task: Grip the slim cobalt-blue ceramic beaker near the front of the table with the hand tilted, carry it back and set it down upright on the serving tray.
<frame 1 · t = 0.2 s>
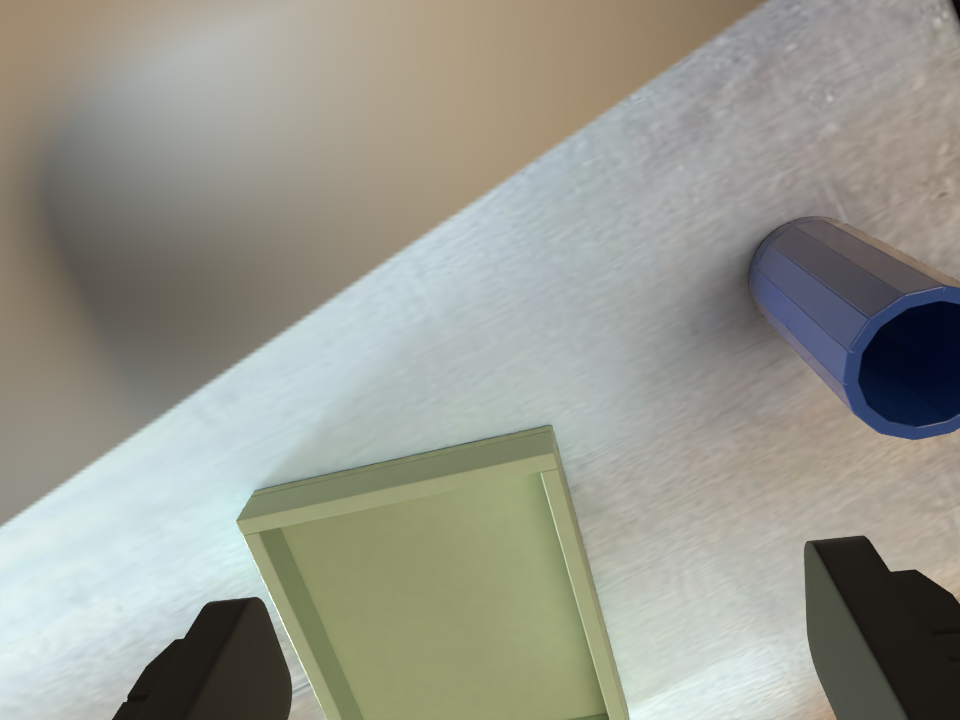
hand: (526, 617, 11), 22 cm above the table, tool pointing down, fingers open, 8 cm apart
beaker: (806, 273, 31), on the table
serving tray: (451, 606, 38), on the table
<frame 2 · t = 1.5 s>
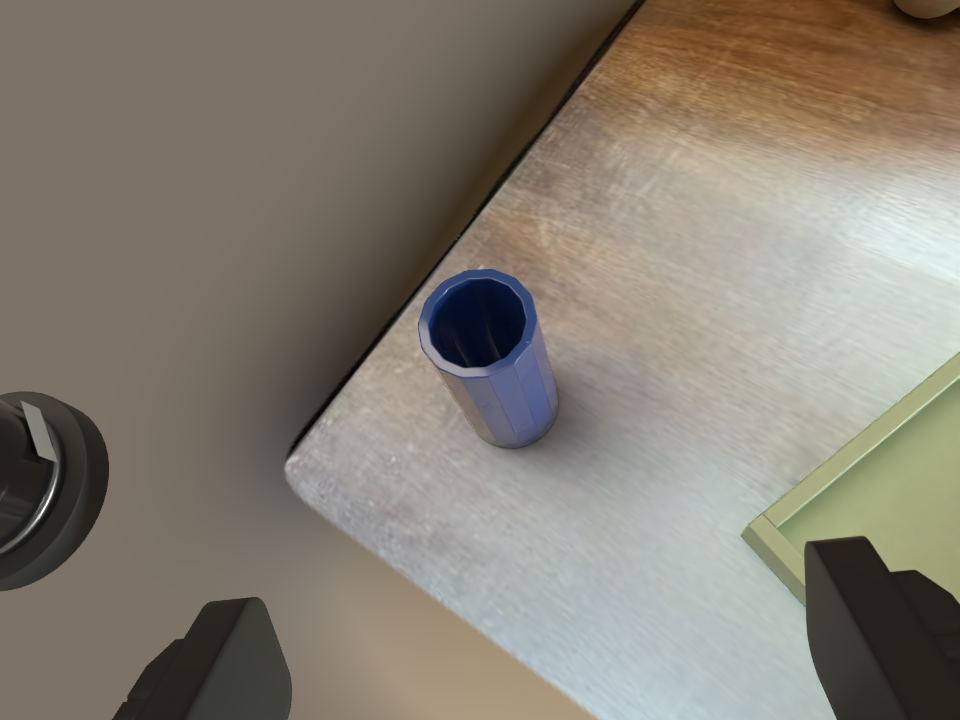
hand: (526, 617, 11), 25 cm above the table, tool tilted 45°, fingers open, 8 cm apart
beaker: (512, 404, 39), on the table
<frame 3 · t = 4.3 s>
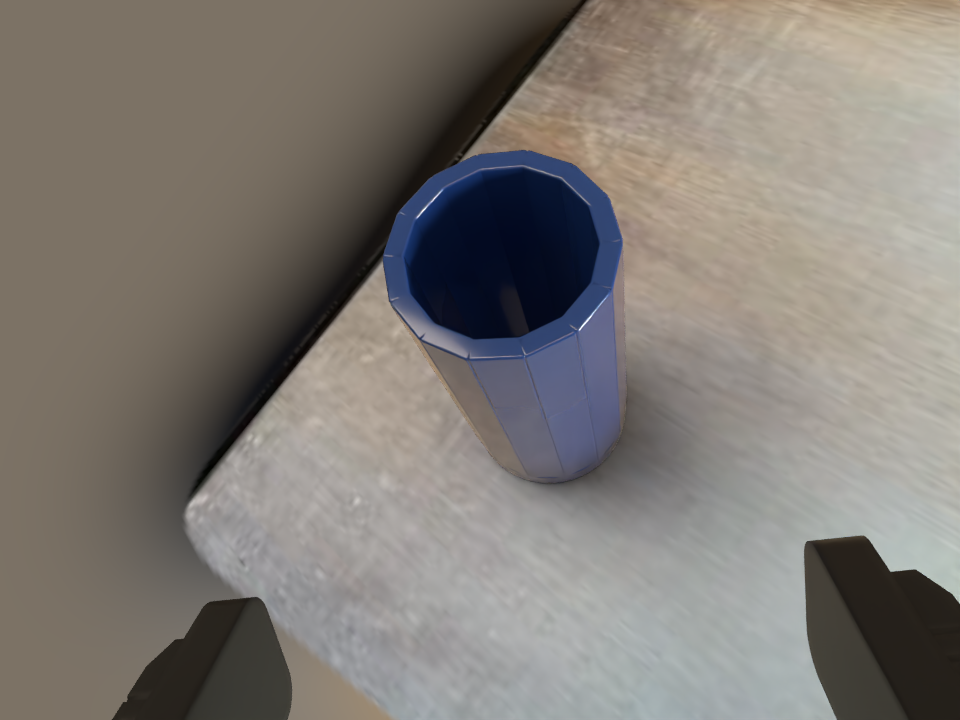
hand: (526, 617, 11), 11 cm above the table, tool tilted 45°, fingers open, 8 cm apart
beaker: (550, 410, 24), on the table
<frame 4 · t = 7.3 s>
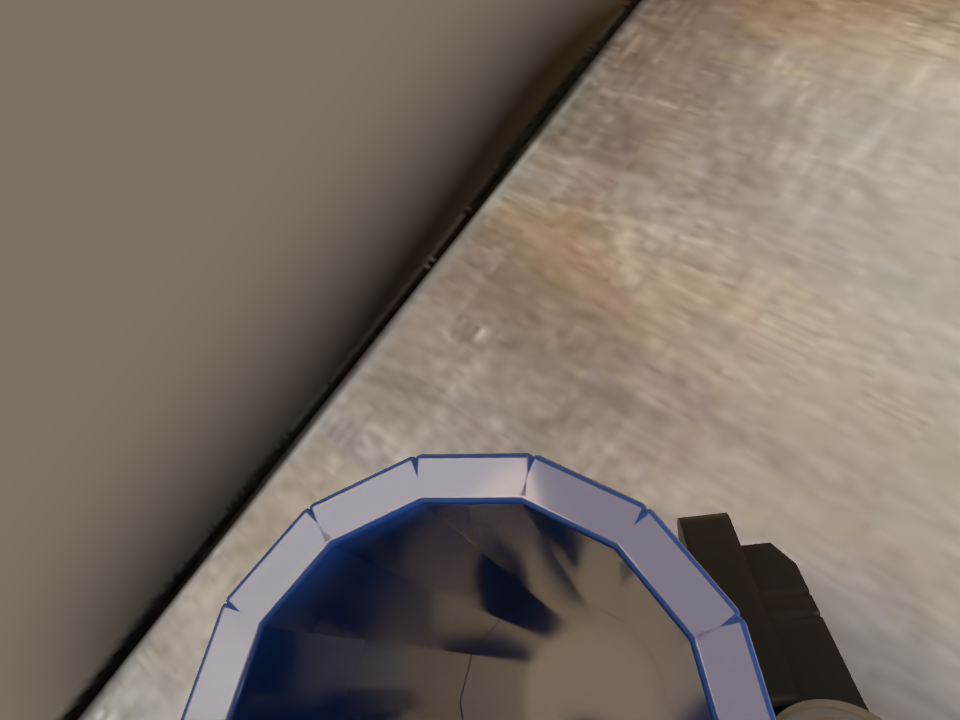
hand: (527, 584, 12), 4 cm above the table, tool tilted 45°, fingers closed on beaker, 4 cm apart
beaker: (565, 705, 15), on the table, touching gripper
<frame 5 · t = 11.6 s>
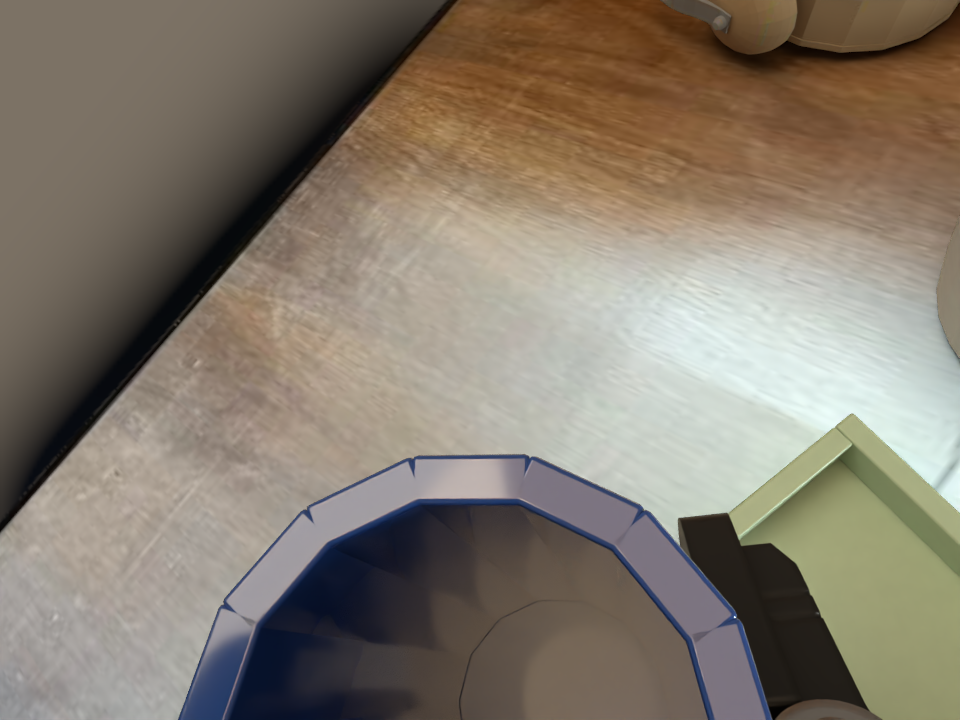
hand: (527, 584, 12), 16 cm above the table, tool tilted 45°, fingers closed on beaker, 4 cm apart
beaker: (564, 705, 15), point 12 cm above the table, touching gripper
when the fingers open (5 cm above the table, at t = 16.2 s): beaker stays where it is, resting on serving tray.
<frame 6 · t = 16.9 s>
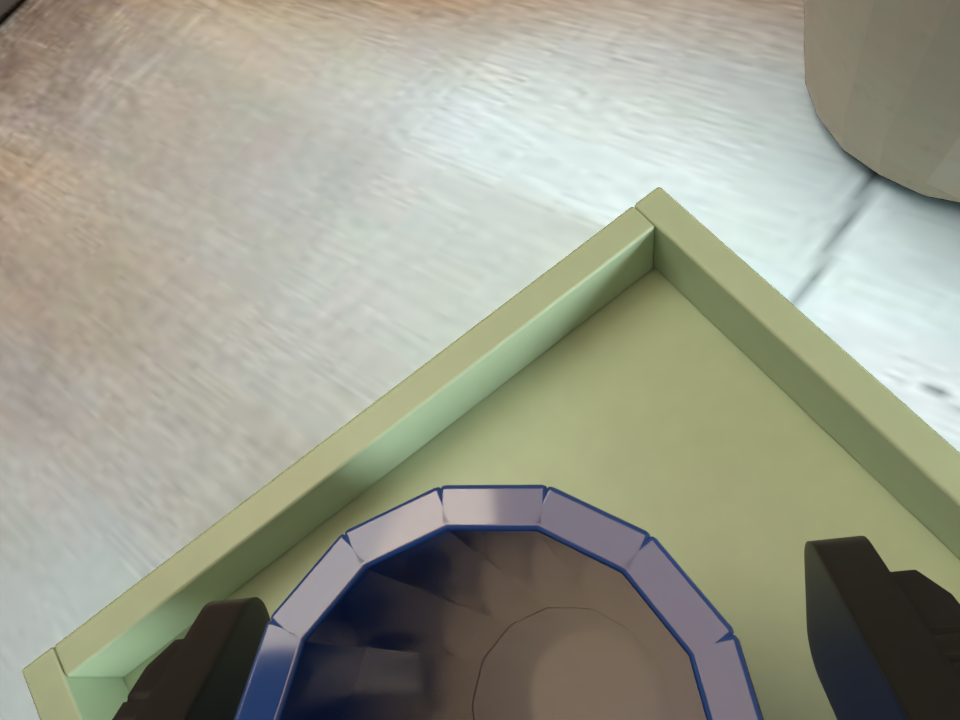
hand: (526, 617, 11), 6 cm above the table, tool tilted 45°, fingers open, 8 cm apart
beaker: (572, 707, 16), point 1 cm above the table, touching serving tray
serving tray: (571, 703, 16), on the table
potted plant: (951, 74, 20), on the table
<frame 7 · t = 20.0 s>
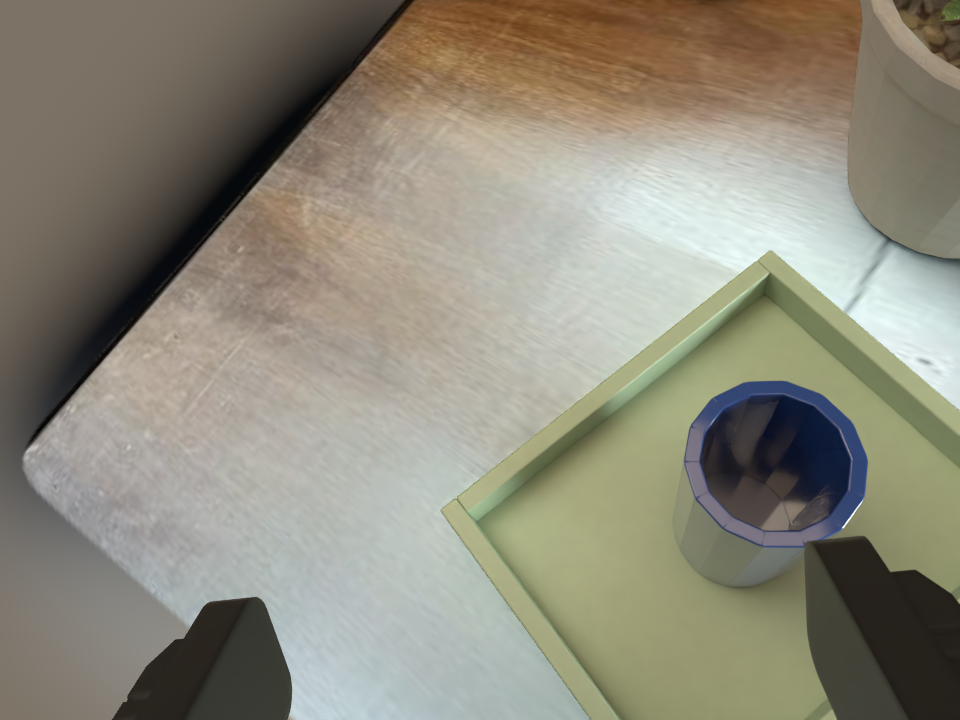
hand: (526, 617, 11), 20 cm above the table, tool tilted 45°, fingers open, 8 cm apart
beaker: (734, 526, 30), point 1 cm above the table, touching serving tray
serving tray: (730, 527, 30), on the table
potted plant: (934, 178, 35), on the table
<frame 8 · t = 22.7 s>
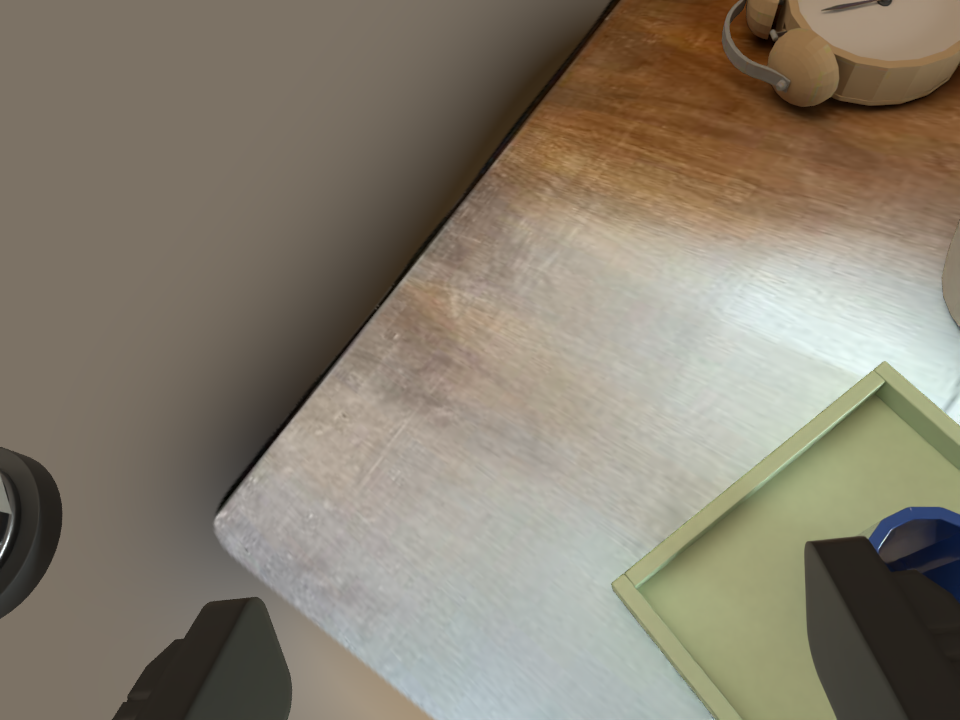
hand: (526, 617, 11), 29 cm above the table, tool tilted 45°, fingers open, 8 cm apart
beaker: (859, 599, 35), point 1 cm above the table, touching serving tray
serving tray: (855, 598, 36), on the table
alarm clock: (838, 49, 48), on the table
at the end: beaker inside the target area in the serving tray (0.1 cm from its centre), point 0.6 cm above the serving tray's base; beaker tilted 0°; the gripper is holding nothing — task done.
